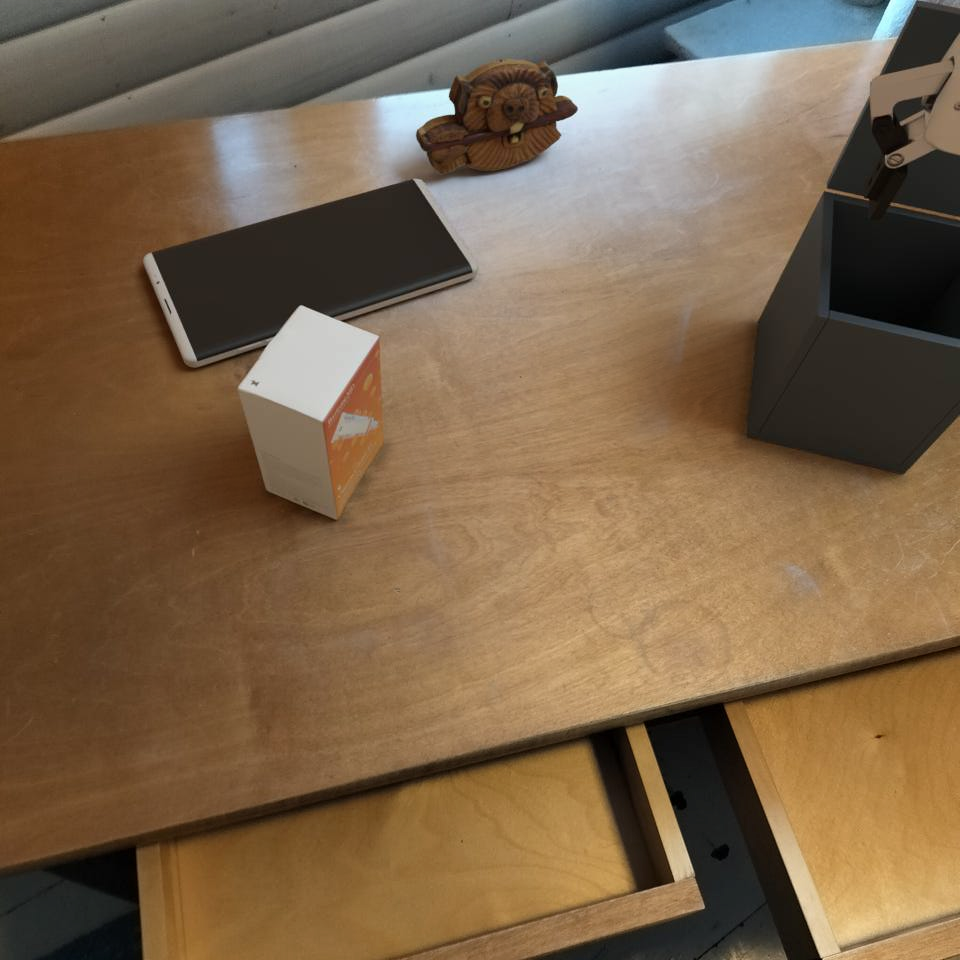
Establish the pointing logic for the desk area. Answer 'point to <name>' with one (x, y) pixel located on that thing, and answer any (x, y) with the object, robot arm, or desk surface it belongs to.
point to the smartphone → (306, 268)
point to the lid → (935, 175)
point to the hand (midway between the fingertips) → (945, 222)
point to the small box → (315, 410)
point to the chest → (861, 337)
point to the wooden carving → (497, 117)
